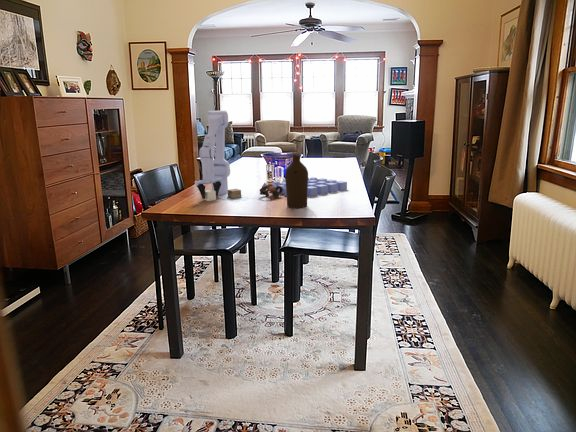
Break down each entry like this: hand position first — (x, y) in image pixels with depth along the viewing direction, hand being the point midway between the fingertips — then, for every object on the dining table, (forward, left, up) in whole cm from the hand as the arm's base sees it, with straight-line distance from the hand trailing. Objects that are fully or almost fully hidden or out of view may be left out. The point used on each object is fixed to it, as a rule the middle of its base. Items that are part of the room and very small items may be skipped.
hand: (209, 197), depth 227 cm
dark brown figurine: (+17, +27, -2) cm, 31 cm away
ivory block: (0, 0, -2) cm, 2 cm away
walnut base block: (+4, +12, -1) cm, 13 cm away
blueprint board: (+4, +12, -1) cm, 13 cm away
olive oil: (+40, +25, -2) cm, 47 cm away
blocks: (+10, +52, -2) cm, 53 cm away
